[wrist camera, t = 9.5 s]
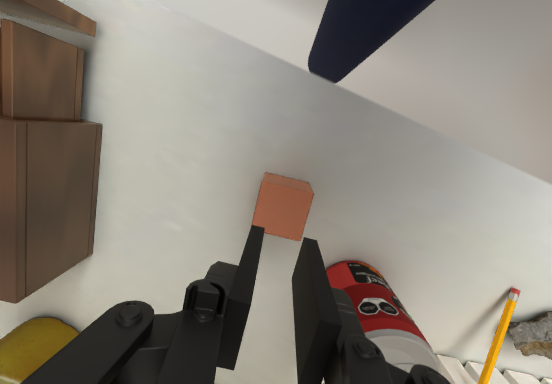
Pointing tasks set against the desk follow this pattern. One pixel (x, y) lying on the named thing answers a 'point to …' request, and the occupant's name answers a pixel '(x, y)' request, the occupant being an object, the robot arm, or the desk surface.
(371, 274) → the canned food
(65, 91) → the drawer
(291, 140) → the desk surface
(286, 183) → the block
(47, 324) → the mug
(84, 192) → the cabinet
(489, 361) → the pencil
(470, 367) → the white keyboard
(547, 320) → the stone
